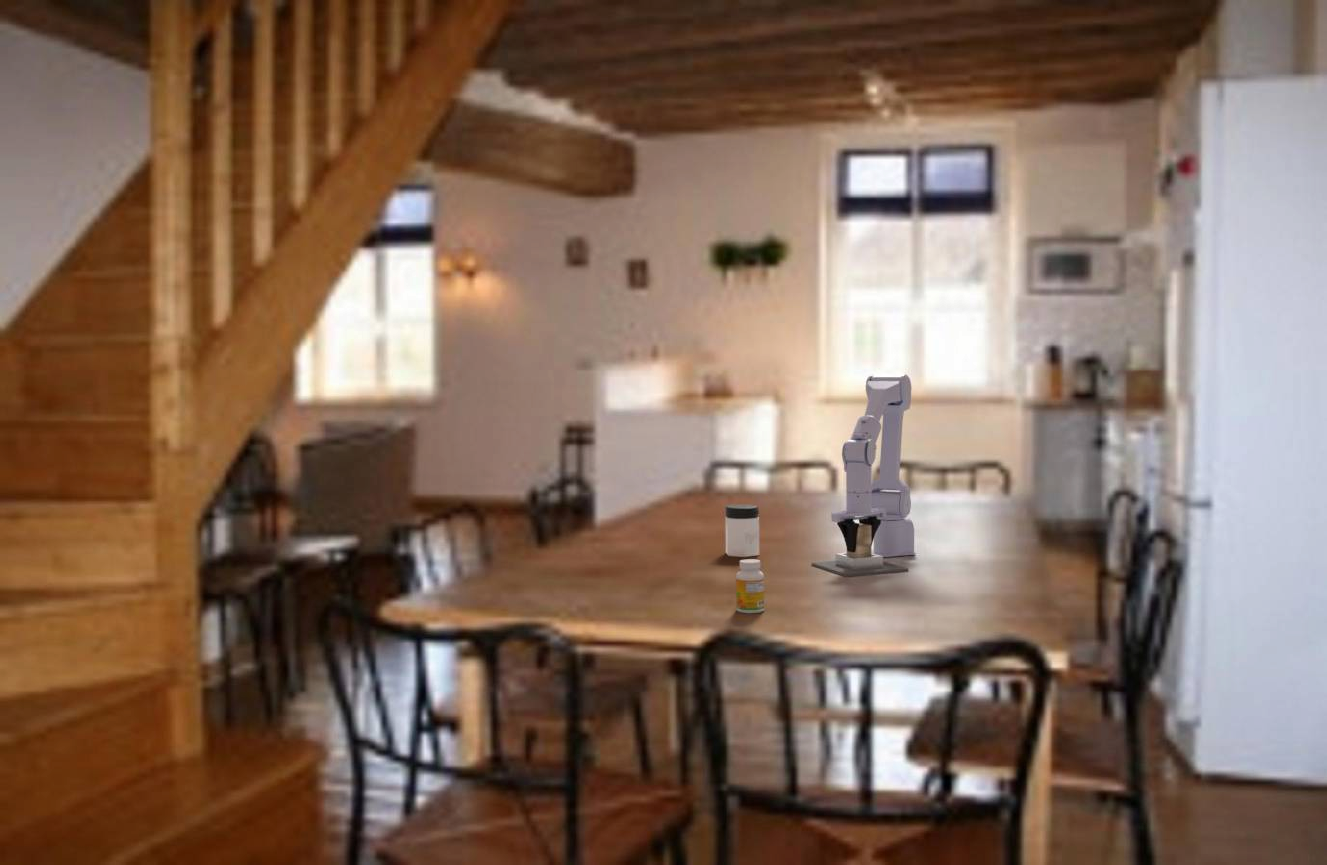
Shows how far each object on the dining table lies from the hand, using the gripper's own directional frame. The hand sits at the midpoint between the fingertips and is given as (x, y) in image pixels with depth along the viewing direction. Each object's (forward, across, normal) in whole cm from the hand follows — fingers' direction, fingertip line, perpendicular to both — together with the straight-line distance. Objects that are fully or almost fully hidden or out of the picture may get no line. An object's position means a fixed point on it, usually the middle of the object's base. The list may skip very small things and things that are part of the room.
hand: (859, 550), depth 268 cm
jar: (+4, +11, -31) cm, 33 cm away
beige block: (+2, 0, 0) cm, 2 cm away
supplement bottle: (+4, +46, +23) cm, 52 cm away
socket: (+4, 0, 0) cm, 4 cm away
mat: (+4, 0, 0) cm, 4 cm away
